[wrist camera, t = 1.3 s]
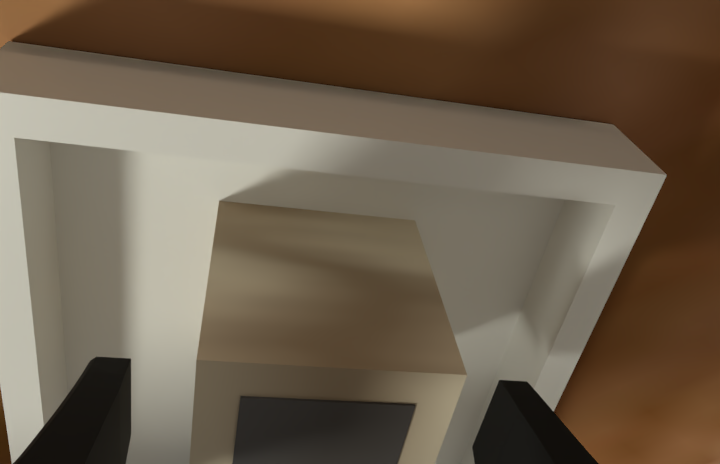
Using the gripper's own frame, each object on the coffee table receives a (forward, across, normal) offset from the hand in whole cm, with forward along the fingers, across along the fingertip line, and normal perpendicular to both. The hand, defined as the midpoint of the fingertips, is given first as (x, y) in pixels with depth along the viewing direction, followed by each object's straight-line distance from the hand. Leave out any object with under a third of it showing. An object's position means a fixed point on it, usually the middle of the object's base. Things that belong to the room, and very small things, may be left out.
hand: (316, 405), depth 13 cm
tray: (+4, 0, +4) cm, 6 cm away
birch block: (+4, 0, 0) cm, 4 cm away
